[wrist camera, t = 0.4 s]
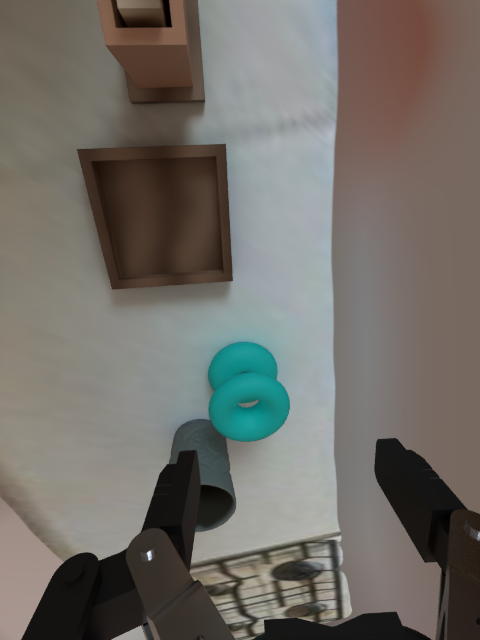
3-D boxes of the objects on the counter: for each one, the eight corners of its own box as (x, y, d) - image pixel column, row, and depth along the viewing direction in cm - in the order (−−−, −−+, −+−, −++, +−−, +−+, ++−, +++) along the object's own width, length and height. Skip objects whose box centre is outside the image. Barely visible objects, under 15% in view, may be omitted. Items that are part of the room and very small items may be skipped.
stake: (132, 103, 28) (87, 60, 18) (116, 4, 25) (48, -122, 14) (205, 102, 29) (204, 59, 18) (197, 4, 26) (191, -118, 15)
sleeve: (138, 87, 27) (105, 45, 18) (127, 14, 25) (83, -76, 16) (193, 86, 27) (186, 44, 18) (186, 14, 25) (176, -74, 16)
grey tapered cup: (179, 463, 51) (172, 539, 41) (160, 422, 47) (146, 496, 36) (235, 449, 51) (243, 522, 40) (222, 407, 47) (226, 477, 36)
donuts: (295, 379, 33) (289, 442, 37) (276, 336, 42) (273, 391, 46) (205, 386, 32) (211, 450, 36) (206, 340, 41) (210, 396, 45)
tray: (117, 282, 36) (112, 289, 34) (86, 151, 30) (77, 149, 27) (231, 274, 37) (232, 280, 35) (224, 146, 31) (225, 144, 28)
